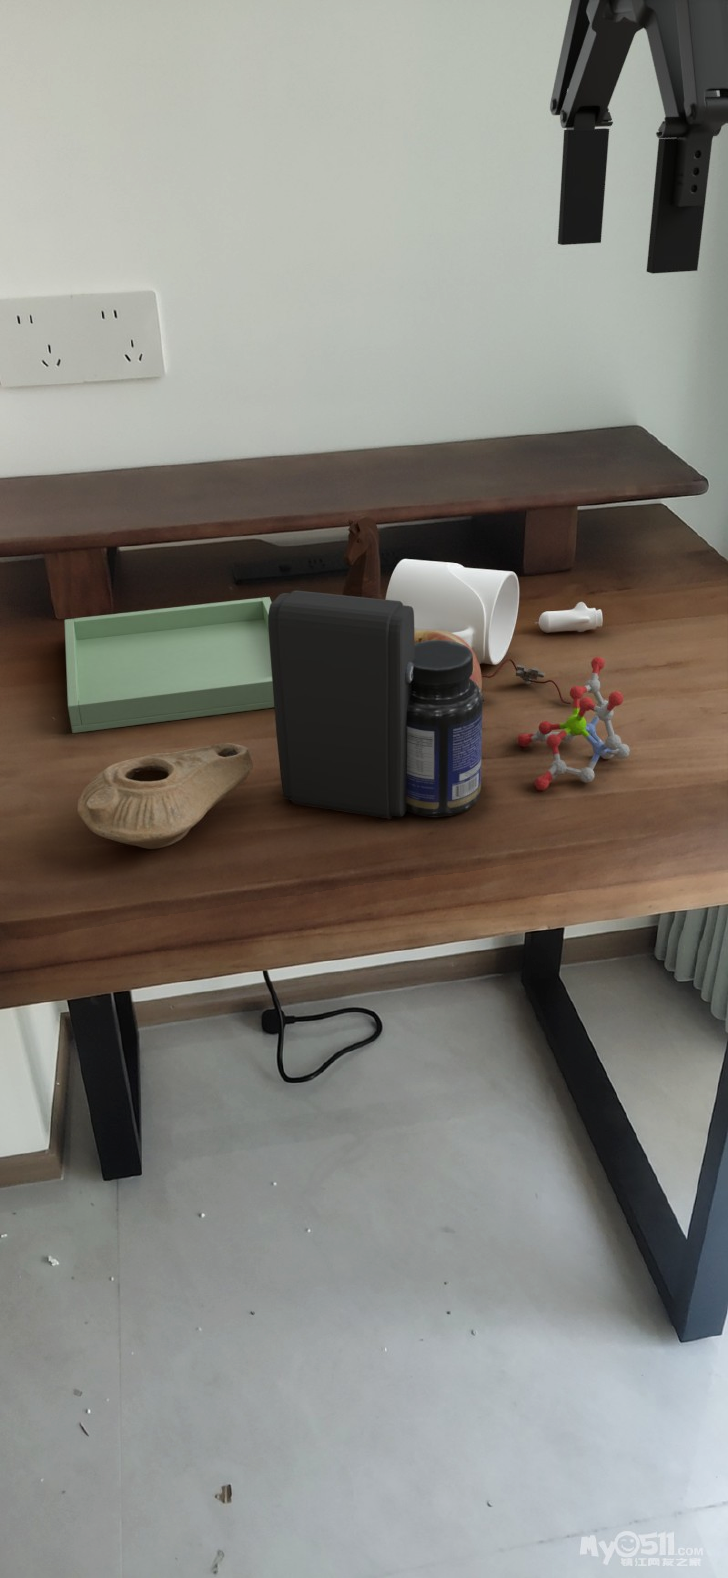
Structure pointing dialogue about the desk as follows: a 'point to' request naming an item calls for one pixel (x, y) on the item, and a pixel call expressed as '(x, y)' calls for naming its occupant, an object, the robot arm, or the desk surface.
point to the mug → (460, 603)
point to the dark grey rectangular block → (342, 700)
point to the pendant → (528, 675)
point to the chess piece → (363, 559)
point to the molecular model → (581, 730)
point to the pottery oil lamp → (161, 793)
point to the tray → (168, 664)
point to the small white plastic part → (571, 619)
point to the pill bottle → (443, 731)
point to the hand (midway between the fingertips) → (621, 257)
